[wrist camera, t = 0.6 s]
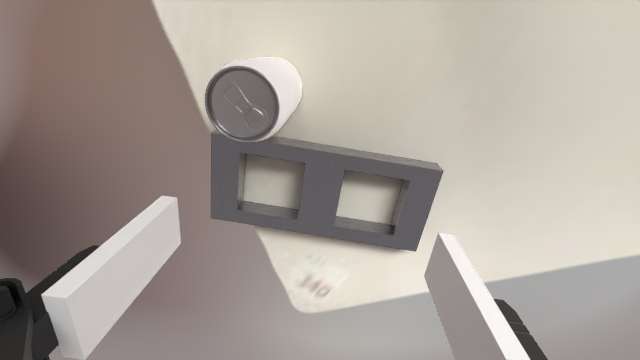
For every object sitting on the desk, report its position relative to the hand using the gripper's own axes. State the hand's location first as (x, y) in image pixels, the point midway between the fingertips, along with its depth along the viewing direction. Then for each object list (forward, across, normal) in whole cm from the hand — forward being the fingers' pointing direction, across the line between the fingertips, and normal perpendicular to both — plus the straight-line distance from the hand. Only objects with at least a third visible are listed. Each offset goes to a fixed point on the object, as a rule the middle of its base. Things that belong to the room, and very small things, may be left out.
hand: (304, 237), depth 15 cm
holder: (+21, 0, -7) cm, 23 cm away
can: (+22, -6, +4) cm, 23 cm away
